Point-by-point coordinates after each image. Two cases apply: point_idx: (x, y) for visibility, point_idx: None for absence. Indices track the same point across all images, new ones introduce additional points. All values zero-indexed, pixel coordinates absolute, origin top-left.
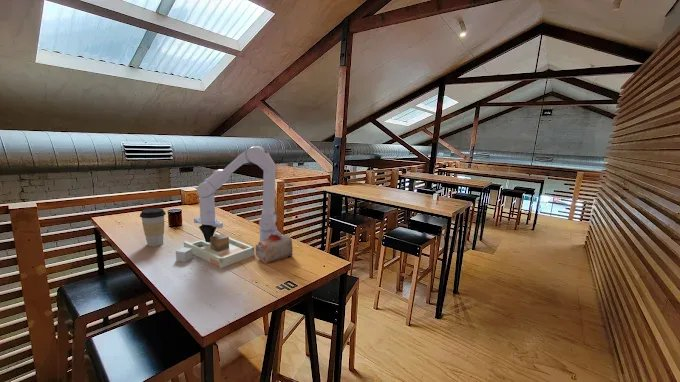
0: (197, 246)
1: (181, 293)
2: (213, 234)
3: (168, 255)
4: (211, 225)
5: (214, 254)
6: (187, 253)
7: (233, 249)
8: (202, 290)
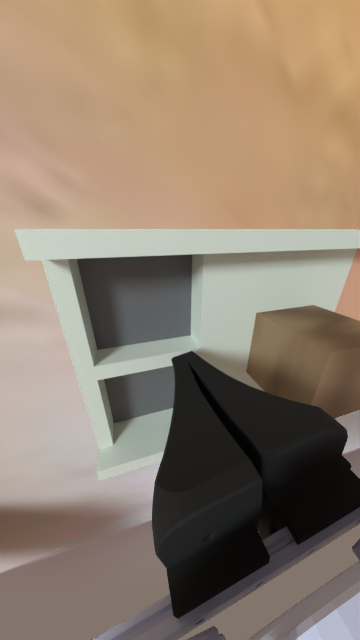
0: None
1: None
2: (224, 373)
3: (126, 474)
4: (354, 518)
5: None
6: None
7: (338, 297)
8: (351, 422)
